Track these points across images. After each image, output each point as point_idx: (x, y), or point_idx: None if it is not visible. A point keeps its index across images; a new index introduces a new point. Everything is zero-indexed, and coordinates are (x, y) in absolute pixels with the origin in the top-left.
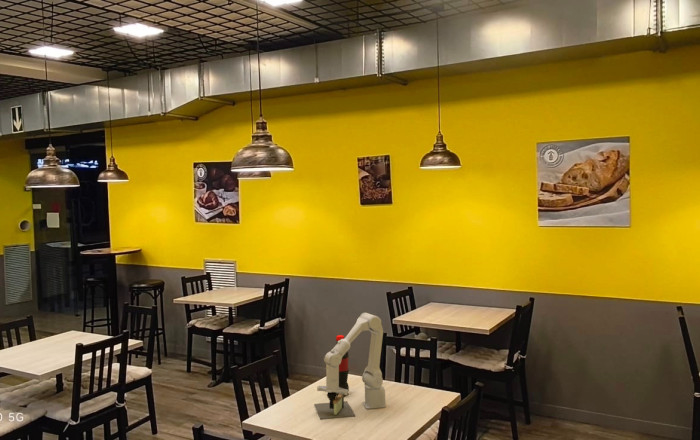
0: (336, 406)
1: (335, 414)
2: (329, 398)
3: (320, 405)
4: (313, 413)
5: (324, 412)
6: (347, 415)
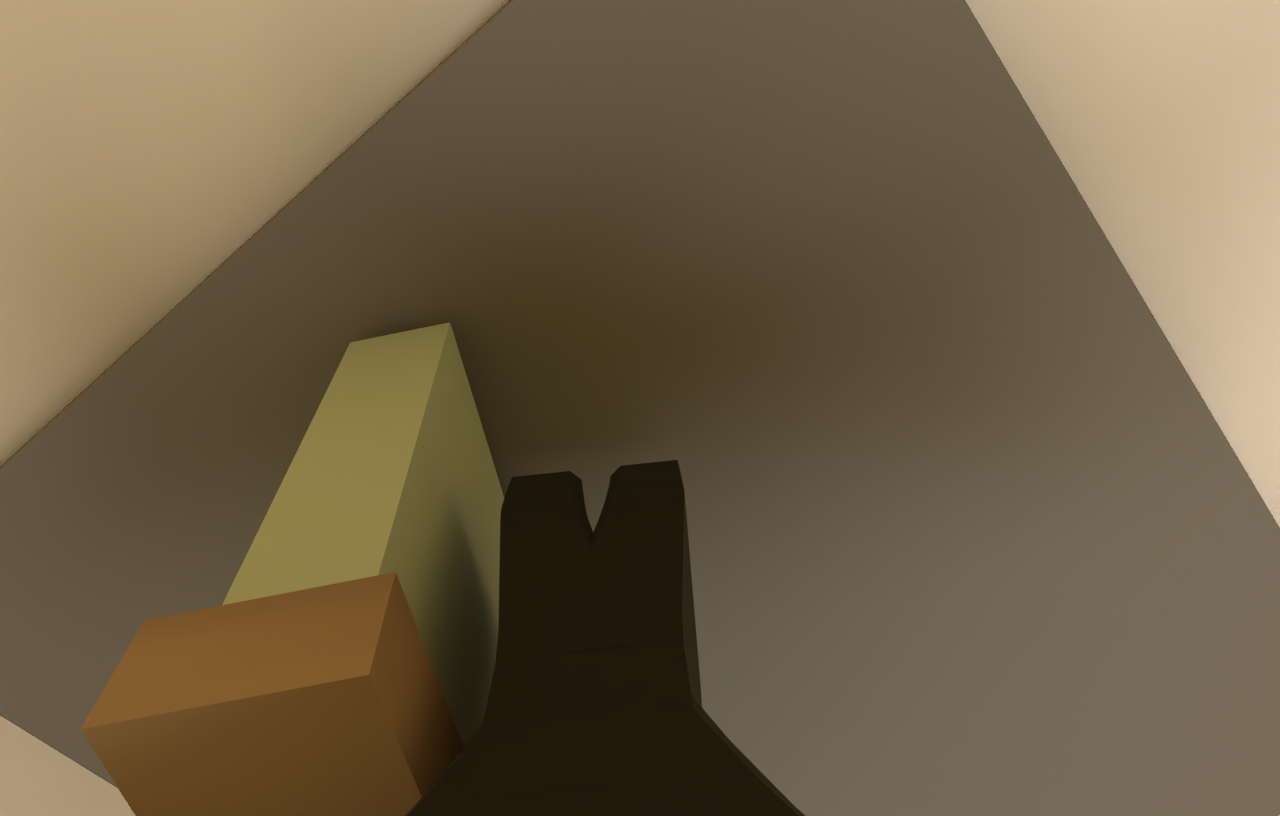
0: (265, 541)
1: (385, 337)
2: (686, 791)
3: (1204, 738)
4: (1268, 205)
5: (895, 380)
6: (32, 502)
